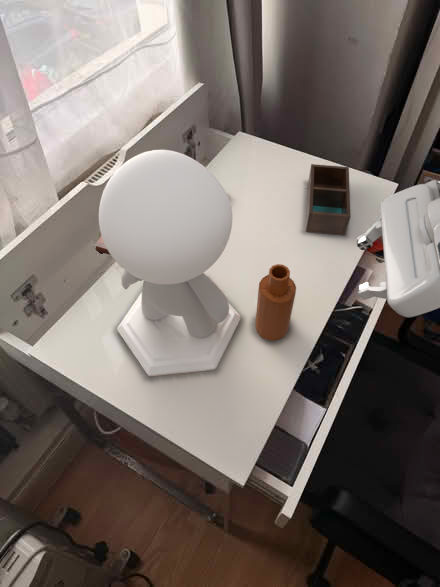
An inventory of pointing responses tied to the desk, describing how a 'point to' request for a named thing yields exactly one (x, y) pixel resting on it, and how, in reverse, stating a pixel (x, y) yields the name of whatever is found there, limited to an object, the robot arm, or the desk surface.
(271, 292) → the bottle
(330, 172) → the box
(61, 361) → the desk surface
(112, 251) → the white cartoon figure
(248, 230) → the desk surface
